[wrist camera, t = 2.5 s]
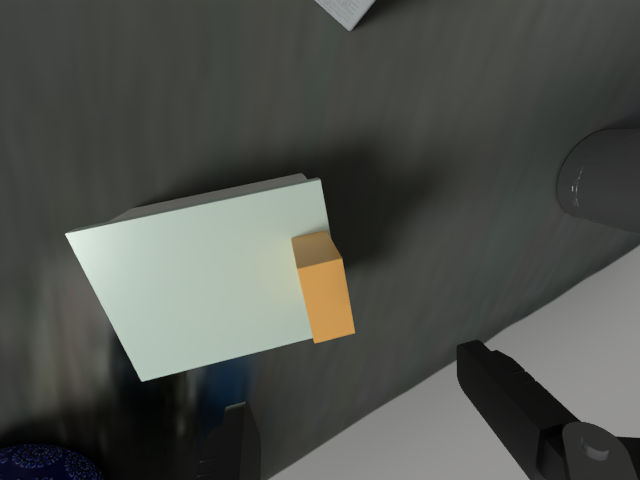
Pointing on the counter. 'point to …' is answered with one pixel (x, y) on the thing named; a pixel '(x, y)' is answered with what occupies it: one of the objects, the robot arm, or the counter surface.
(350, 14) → the skincare box
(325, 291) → the lid
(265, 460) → the counter surface
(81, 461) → the planter
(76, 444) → the counter surface
